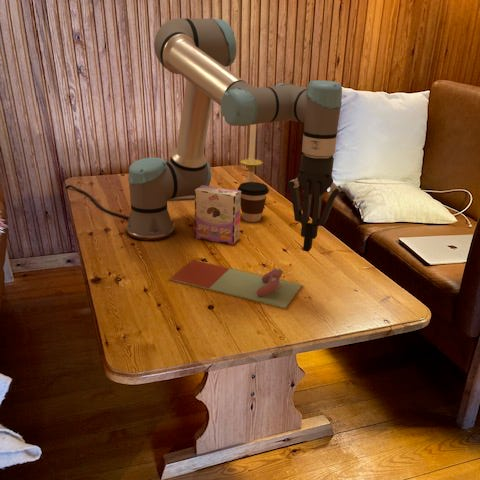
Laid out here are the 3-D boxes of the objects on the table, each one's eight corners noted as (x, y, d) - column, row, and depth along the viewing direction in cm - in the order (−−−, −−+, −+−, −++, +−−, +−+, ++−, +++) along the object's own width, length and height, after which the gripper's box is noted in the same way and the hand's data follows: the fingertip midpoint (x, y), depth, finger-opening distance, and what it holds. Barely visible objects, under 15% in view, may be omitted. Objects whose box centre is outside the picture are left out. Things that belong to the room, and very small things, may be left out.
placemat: (170, 280, 148) (170, 278, 148) (193, 261, 159) (193, 259, 159) (285, 308, 137) (285, 307, 137) (301, 286, 148) (301, 284, 148)
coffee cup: (231, 221, 188) (232, 188, 182) (243, 211, 197) (244, 179, 190) (260, 226, 185) (262, 193, 178) (271, 216, 193) (273, 184, 187)
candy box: (240, 239, 175) (242, 190, 166) (233, 245, 170) (235, 195, 161) (201, 232, 178) (201, 183, 170) (194, 238, 174) (194, 189, 165)
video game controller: (269, 303, 141) (282, 284, 137) (254, 295, 141) (267, 275, 137) (274, 286, 149) (287, 268, 146) (260, 278, 149) (273, 259, 145)
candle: (266, 200, 208) (273, 113, 191) (253, 207, 201) (258, 117, 184) (245, 195, 213) (249, 109, 195) (231, 202, 205) (234, 113, 188)
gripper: (285, 154, 121) (278, 249, 133) (341, 162, 117) (328, 259, 129) (296, 147, 127) (287, 239, 139) (349, 154, 123) (336, 248, 135)
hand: (307, 249), depth 134 cm, fingers closed
